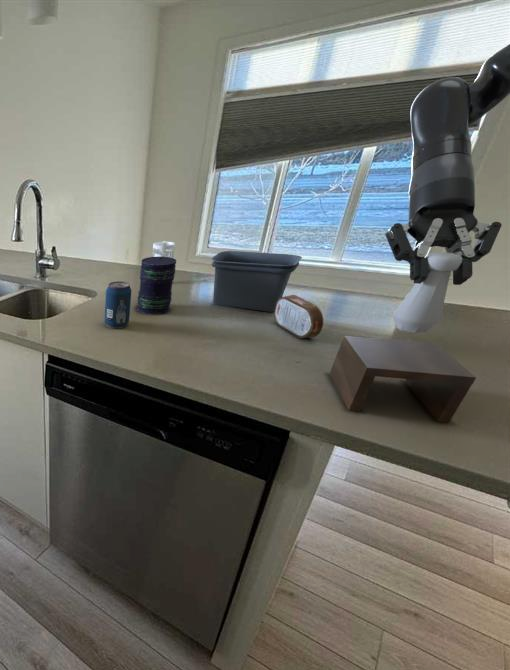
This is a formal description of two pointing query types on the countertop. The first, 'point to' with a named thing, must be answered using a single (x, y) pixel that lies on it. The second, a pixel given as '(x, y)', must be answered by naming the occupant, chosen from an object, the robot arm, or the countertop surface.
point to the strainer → (163, 249)
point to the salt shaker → (427, 295)
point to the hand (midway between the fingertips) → (440, 281)
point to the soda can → (117, 304)
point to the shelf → (401, 372)
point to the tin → (298, 316)
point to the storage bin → (251, 278)
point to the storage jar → (156, 285)
